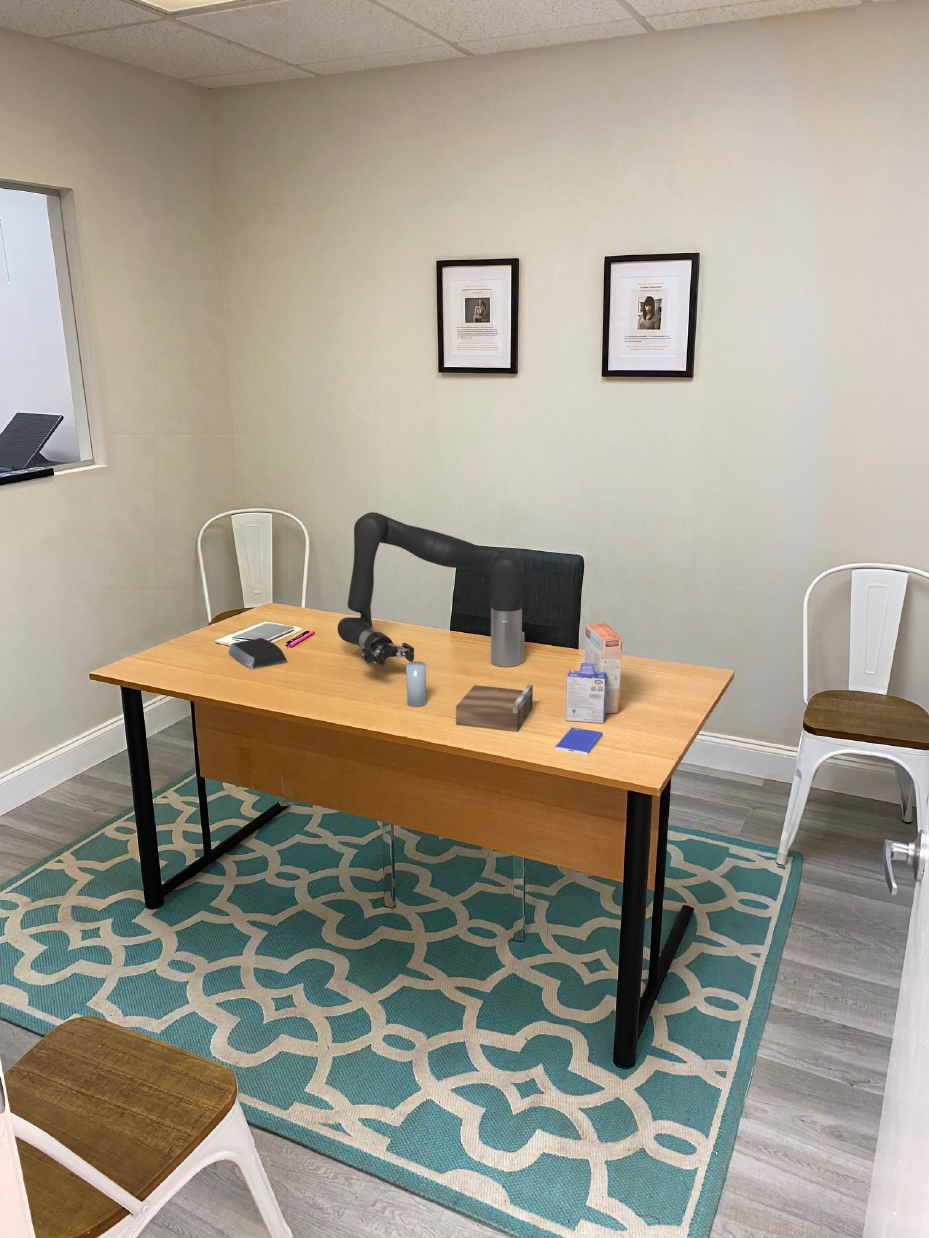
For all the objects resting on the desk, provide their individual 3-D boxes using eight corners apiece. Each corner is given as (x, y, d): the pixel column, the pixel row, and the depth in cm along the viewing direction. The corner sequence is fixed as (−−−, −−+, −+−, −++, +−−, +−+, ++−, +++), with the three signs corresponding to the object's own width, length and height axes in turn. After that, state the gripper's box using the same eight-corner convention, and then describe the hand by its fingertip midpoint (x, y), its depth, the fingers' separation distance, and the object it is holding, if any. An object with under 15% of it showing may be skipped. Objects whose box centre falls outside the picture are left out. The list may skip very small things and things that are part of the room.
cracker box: (619, 713, 244) (623, 637, 238) (597, 715, 243) (600, 638, 237) (603, 694, 257) (606, 621, 252) (582, 696, 257) (584, 623, 251)
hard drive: (571, 726, 234) (554, 745, 223) (602, 732, 230) (588, 751, 219) (570, 732, 234) (554, 751, 223) (602, 737, 231) (587, 757, 220)
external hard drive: (249, 671, 278) (248, 658, 277) (226, 654, 294) (225, 642, 292) (290, 663, 285) (289, 650, 284) (265, 647, 300) (264, 635, 299)
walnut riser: (474, 702, 252) (474, 677, 250) (532, 708, 248) (532, 684, 246) (456, 724, 238) (455, 698, 236) (517, 731, 233) (517, 705, 231)
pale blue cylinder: (421, 698, 255) (420, 660, 252) (429, 704, 251) (429, 666, 248) (403, 701, 253) (403, 663, 250) (411, 708, 248) (411, 669, 245)
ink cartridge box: (605, 715, 243) (607, 663, 239) (604, 724, 238) (606, 670, 234) (567, 713, 245) (568, 660, 241) (565, 721, 240) (566, 667, 236)
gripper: (352, 634, 268) (373, 651, 255) (398, 628, 275) (421, 644, 261) (352, 659, 270) (374, 677, 257) (398, 652, 277) (421, 669, 263)
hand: (398, 660), depth 259 cm, fingers open, 8 cm apart
